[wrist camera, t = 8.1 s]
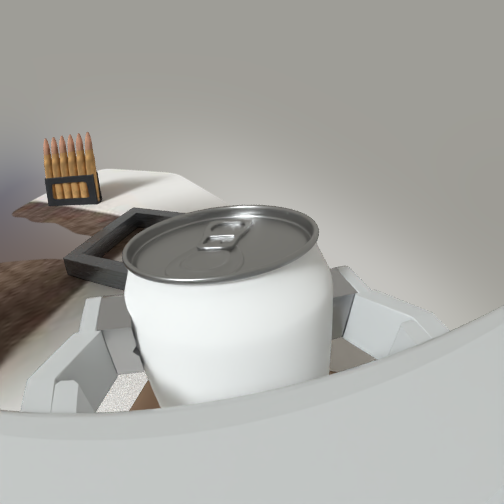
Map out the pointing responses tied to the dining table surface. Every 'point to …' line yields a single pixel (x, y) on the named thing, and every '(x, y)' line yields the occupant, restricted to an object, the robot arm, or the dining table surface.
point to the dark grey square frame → (90, 252)
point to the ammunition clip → (71, 173)
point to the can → (229, 302)
